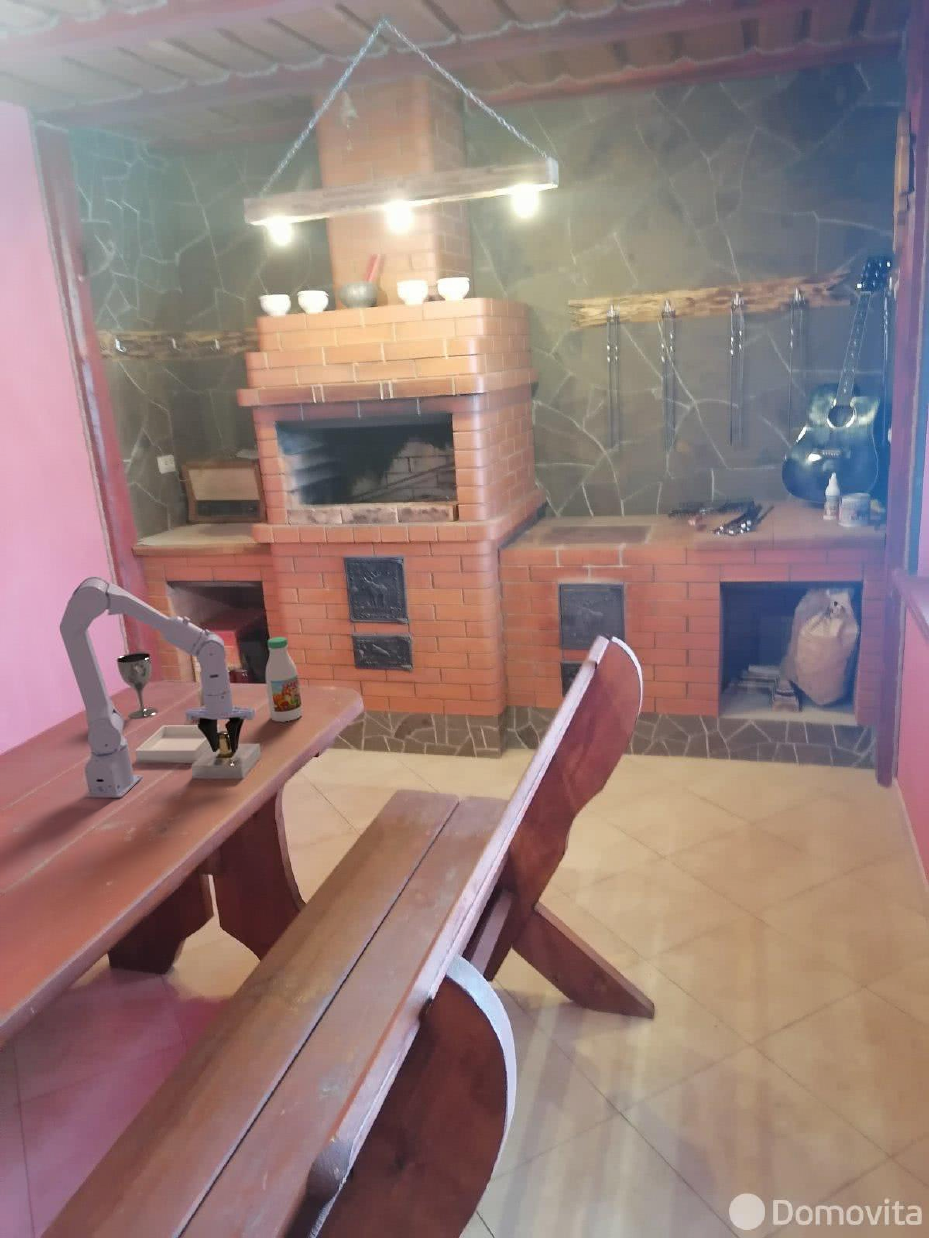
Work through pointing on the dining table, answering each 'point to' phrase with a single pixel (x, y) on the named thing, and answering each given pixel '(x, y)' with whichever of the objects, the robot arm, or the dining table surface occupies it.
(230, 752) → the pin
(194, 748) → the tray
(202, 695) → the architectural model
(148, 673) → the wine glass
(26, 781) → the dining table surface
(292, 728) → the dining table surface
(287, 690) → the milk bottle
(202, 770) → the grey square socket block
